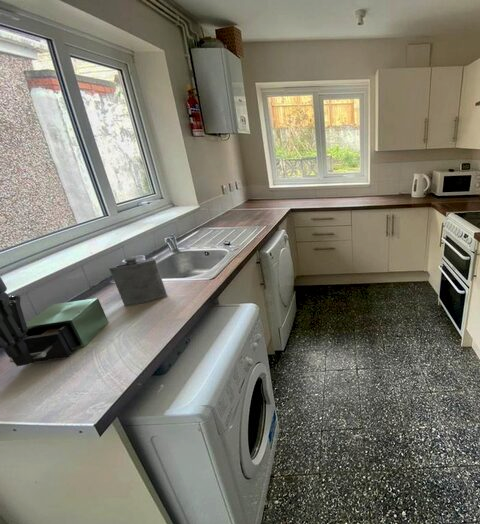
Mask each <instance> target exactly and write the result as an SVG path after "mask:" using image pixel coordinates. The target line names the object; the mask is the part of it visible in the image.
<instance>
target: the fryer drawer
mask: <svg viewBox="0 0 480 524" xmlns="http://www.w3.org/2000/svg"><path fill="white" fill-rule="evenodd" d="M57 328H60V329H59V330H58V332H55V333H49V334H43V333H44V332H45V331H46V330H50V329H57ZM41 334H42V335H41ZM23 335H27V337H26V338H24V339H23V340H24V342H25V343H26V345H27V350H28V351H29V353H30V355H31V356H32V358H33V360H34V361H32V362H31V363H30V364H29V365H31V364H36V363H43V362H49V361H53V360H60V359H64V358H65V359H66V358H70V357H71V356H72V355H73V353H72V351H73V350H75V349H76V348H75V347H76V346H77V345H78V344H79V343H80V342H79V341H78V339H77V337H76V335H75V333H74V331H73V329H72V327H71V325H70V323H65V324H58V325H51V326H45V327H38V328H32V329H28V331H27V332H26V333H24V334H23ZM74 348H75V349H74ZM9 362H10V363H14V361H13V359H12V358H10V357H9Z"/></svg>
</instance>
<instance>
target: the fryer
mask: <svg viewBox="0 0 480 524" xmlns="http://www.w3.org/2000/svg"><path fill="white" fill-rule="evenodd" d="M65 323H70V325H71V327H72V329H73V331H74V333H75V335H76V337H77V339H78V341H79V342H80V343H79V344H78V345H77V346H76V347H75V348H74V349H73V350H75V349H80V348H85V347H86V346H88V344H89V343H90V342H91V341H92V340H93V339H95V337H96V336H97V335H98V334H99V333H100V332H101V331H102V330H104V328H105V327H106V326H107V325H108V324H109V320H108V317H107V315H106V313H105V310H104V308H103V306H102V304H101V301H100V299H99V297H94V298H88V299H81V300H73V301H65V302H59V303H53V304H52V305H50V306H49V307H47V308H46V309H44V310H43V311H42V312H40V313H38V314H37V315H36V316H34V317H33V318H32V319H31V320H29V321H27V322H26V325H27V329H32V328H38V327H45V326H51V325H58V324H65ZM19 329H21V328H19Z"/></svg>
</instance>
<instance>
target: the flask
mask: <svg viewBox="0 0 480 524" xmlns="http://www.w3.org/2000/svg"><path fill="white" fill-rule="evenodd" d="M125 261H126V262H127V263H123V262H122V263H119V264H113V265H111V266H109V267H108V269H109V271H110V274H111V276H112V279H113V282H114V284H115V286H116V289H117V292H118V293H119V296H120V298H121V301H122V303H123V306H124V307H130V306H135V305H140V304H145V303H150V302H154V301H157V300H161V299H165V298H166V297H168V293H167V290H166V287H165V285H164V284H165V283H164V282H163V278H162V276H161V272H160V270H159V266H158V264H157V260H156V259H155V258H149V259H145V260H144V261H139V262H136V257H133V256H130V257H127V258H125Z"/></svg>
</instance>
